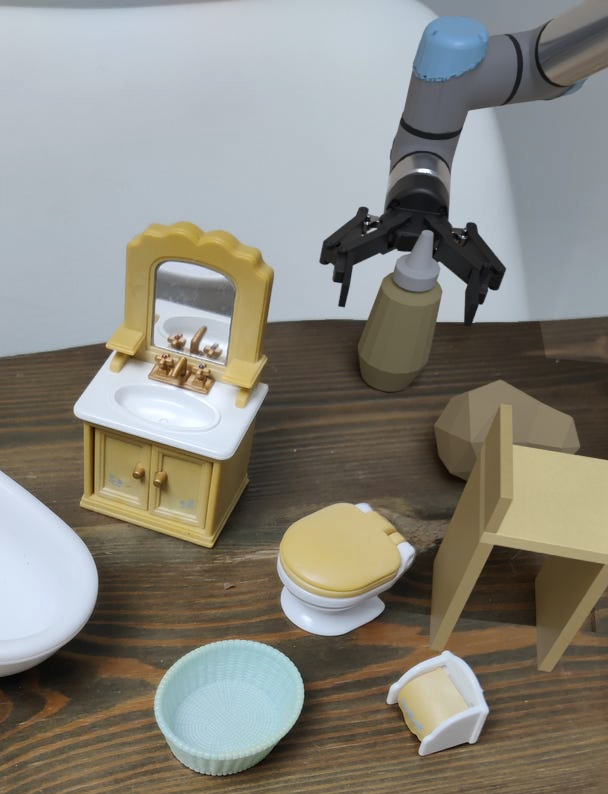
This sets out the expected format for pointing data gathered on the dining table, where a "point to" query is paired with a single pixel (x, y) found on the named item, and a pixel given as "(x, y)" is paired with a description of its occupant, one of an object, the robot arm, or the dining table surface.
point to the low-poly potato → (473, 418)
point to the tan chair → (527, 535)
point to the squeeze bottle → (402, 320)
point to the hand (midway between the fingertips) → (407, 306)
